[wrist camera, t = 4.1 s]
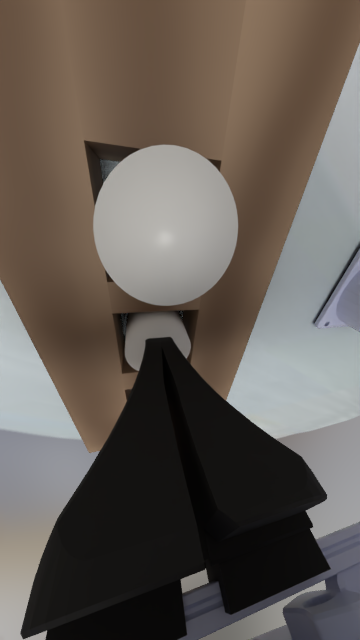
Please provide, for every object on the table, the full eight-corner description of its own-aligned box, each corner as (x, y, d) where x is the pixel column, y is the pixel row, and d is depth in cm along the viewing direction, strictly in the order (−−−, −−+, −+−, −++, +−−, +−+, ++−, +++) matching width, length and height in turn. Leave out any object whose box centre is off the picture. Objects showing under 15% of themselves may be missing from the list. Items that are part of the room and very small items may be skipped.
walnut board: (296, 63, 7) (376, -5, 5) (206, 400, 20) (216, 427, 18) (-79, -51, 5) (-306, -319, 2) (95, 418, 18) (89, 452, 16)
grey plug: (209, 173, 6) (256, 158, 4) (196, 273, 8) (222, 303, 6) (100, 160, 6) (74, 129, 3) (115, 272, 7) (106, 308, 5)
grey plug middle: (181, 296, 11) (194, 322, 9) (177, 339, 13) (187, 370, 11) (123, 298, 11) (120, 327, 8) (129, 343, 13) (128, 377, 10)
